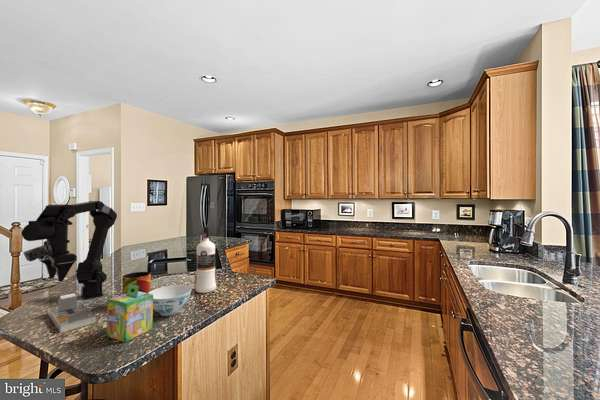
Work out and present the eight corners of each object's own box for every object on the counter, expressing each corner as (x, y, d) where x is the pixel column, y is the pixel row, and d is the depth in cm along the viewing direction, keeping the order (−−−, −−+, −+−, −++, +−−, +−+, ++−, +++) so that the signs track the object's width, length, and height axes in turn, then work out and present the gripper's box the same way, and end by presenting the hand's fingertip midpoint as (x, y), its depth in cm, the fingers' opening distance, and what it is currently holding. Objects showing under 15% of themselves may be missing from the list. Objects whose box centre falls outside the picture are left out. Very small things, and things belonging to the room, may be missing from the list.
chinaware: (199, 305, 102) (199, 286, 102) (173, 323, 87) (173, 300, 87) (166, 302, 105) (166, 284, 105) (136, 319, 90) (136, 297, 90)
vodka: (219, 287, 125) (219, 225, 125) (211, 293, 115) (211, 227, 116) (200, 286, 125) (201, 225, 126) (191, 293, 116) (191, 227, 116)
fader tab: (75, 305, 97) (75, 292, 97) (77, 307, 95) (77, 294, 95) (58, 309, 93) (58, 296, 93) (59, 311, 92) (59, 298, 92)
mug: (150, 295, 114) (150, 268, 114) (150, 306, 102) (150, 275, 102) (123, 299, 109) (124, 271, 109) (121, 311, 97) (121, 279, 97)
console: (79, 306, 102) (79, 295, 102) (95, 322, 88) (95, 309, 88) (47, 314, 94) (47, 302, 94) (60, 332, 81) (60, 318, 81)
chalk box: (105, 337, 78) (106, 288, 78) (135, 324, 87) (135, 280, 87) (124, 343, 75) (125, 292, 75) (153, 329, 83) (154, 283, 83)
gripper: (18, 238, 94) (17, 281, 93) (35, 241, 84) (33, 289, 83) (59, 235, 103) (58, 274, 103) (77, 238, 93) (76, 281, 93)
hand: (56, 279), depth 95 cm, fingers open, 9 cm apart
